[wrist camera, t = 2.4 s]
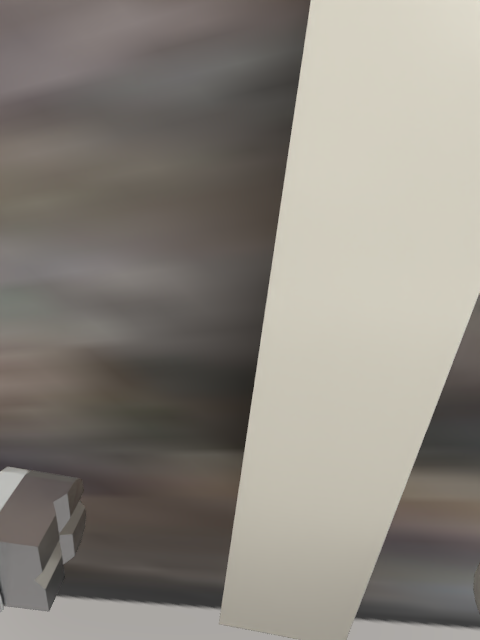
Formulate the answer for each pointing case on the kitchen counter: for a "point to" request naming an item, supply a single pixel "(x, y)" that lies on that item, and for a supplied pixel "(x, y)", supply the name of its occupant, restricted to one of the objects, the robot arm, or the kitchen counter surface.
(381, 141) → the clay bar
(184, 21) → the kitchen counter surface
